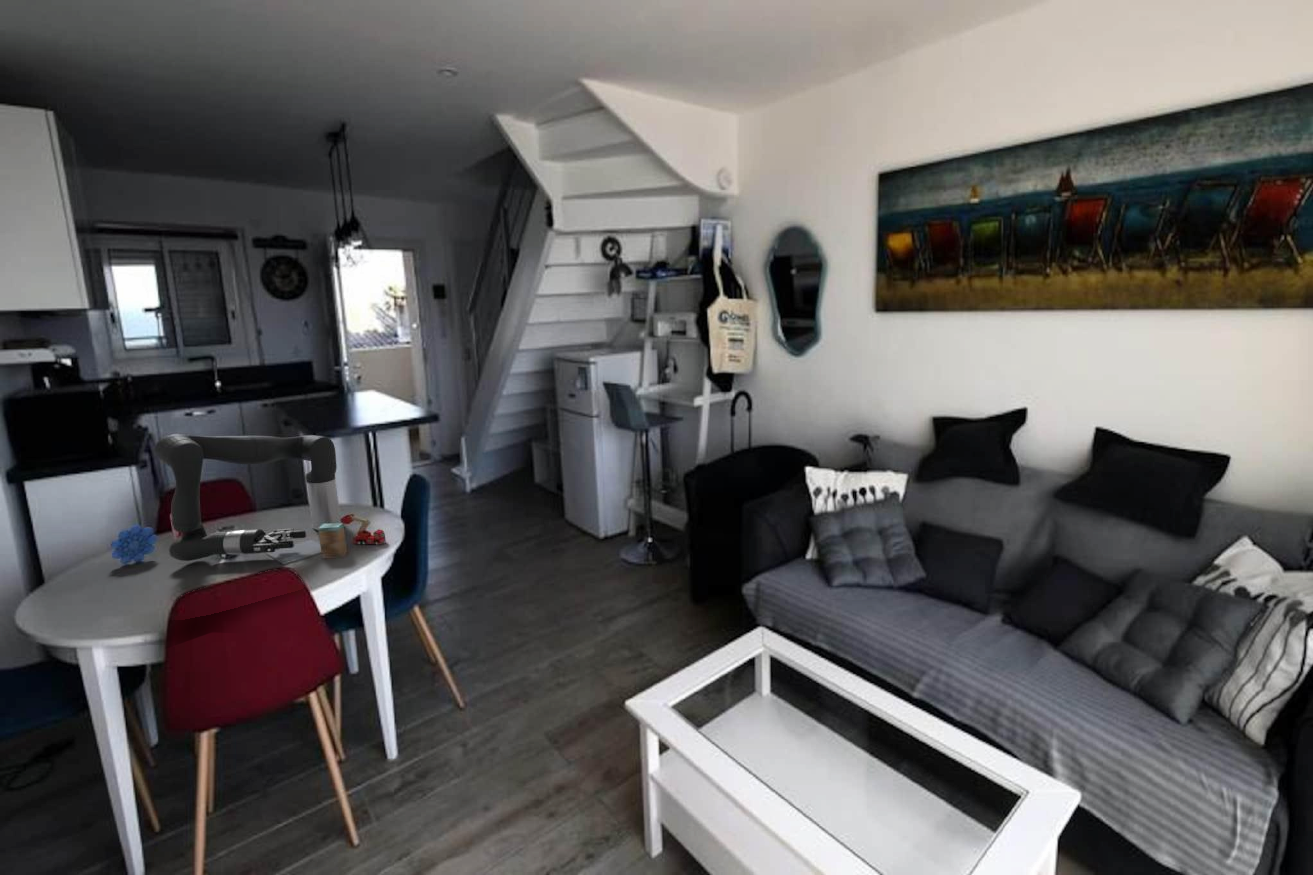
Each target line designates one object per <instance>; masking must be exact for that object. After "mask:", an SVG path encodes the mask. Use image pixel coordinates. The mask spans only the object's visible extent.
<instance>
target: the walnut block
mask: <svg viewBox="0 0 1313 875" xmlns="http://www.w3.org/2000/svg"><path fill="white" fill-rule="evenodd" d="M317 531H318V537H319V544H320V546H321V559H333V558H335V559H336V558H343V557H344V556H345V555H346V554H347V553H348V551H347V544H346V535H345V534H346V533H345V527H344V524H343V523H330V524H323V525H321V526H320V527H319V528H318V530H317ZM346 552H347V553H346ZM344 554H345V555H344Z"/></svg>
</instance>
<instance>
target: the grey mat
mask: <svg viewBox="0 0 1313 875" xmlns="http://www.w3.org/2000/svg"><path fill="white" fill-rule="evenodd" d="M265 554H266V555H267V556H269V557H270V558H272V559H273V560H276V561H277V562H278V563H280V562H281V563H280V564H282V563H283V564H282V565H287V564H291V563H293V562H297V561H300V560H305V559H308V558H310V557H311V558H312V557H314V556H317V554H318V555H320V554H321V555H322V553H321V546H320V542H317V541H315V540H313V539H310V540H309V539H308V540H306V541H303V542H299V543H295V544H294V547H293V548H283V549H279V550H275V552H267V553H265Z"/></svg>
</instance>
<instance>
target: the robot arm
mask: <svg viewBox="0 0 1313 875" xmlns="http://www.w3.org/2000/svg"><path fill="white" fill-rule="evenodd" d="M154 453H155V455H156V456H157V458H158V459H159V460H160V461H161V462H163V463H165V465H166V466H168V467H170V468H171V469H172V472H173V475H174V480H175V490H174V493H173V497H172V499H171V505H170V512H171V513H170V514H172V524H173V527H174V529H175V530H176V531H179V532H182V535H181V536H180V537H179V538H178V539H177V540H176V541H175V540H174V541H173V542H172V543H171V544H170V546H169V554H170V556H172V558H174V559H175V560H178V561H182V562H183V561H185V562H187V561H188V562H189V561H190V562H191V561H195V560H200V559H204V558H209V557H212V556H214V555H215V556H216V555H217V556H219V555H251V554H253V555H254V554H261V553H262V554H263V553H264V554H266V553H268V552H275V550H279V549H283V548H293V547H294V545H295V544H294V540H292V539H305V538H306V537H307V532H306V531H305V530H295V528H293V527H292V528H281V529H279V528H277V529H274V530H273V531H272V532H269V533H265V531H264V530H263V529H260V528H256V529H236V530H231V531H215V532H211V533H210V534H207V531H206V529H205V527H204V524H203V522H202V518H201V502H200V498H201V497H200V491H201V490H200V489H201V480H202V479H201V478H202V470H203V465H204V460H212V461H213V460H214V461H219V462H225V463H229V464H238V465H261V464H262V465H263V464H269V463H273V462H277V461H280V460H302V461H308V462H310V467H311V469H310V471H308V472H306V474H305V481H306V489H307V495H308V504H309V510H310V517H311V524H312V529H313V530H317V531H318V528H319V527H320V526H321V525H323V524H330V523H341V520H340V519H341V518H342V517H341V511H340V510H341V509H340V504H339V501H340V500H339V494H338V493H339V492H338V486H337V480H336V474H337V468H338V466H337V456H336V454H337V453H336V447H335V444H334V442H333V441H332V439H331V438H329V437H327V436H323V435H315V434H310V435H309V434H308V435H301V436H293V437H292V436H291V437H279V436H272V435H271V436H268V435H226V436H225V435H220V436H218V435H217V436H208V435H207V436H205V435H195V434H194V435H193V434H183V433H174V434H168V435H166V436H163V437H162V438H160V439H159V440H158V441H157V442H156V443H155V445H154Z"/></svg>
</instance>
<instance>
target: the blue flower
mask: <svg viewBox="0 0 1313 875" xmlns="http://www.w3.org/2000/svg"><path fill="white" fill-rule="evenodd" d="M153 532H154V529H153V528H152V527H150V526H146V527H144V528H143V526H142V525H140V524H134V525H132V527H130V530H129V529H122V530H120V531H119V533H118V534H117V538H116V539H114V540H113V541H111V543H110V548H111V549H112V550H113V551H112V552H111V558H113V559H114V560H119V559H120V563H121V564H123V565H127V564H129V563H131V562H132V561H133V562H134V563H140V562H142V561H143V560H145V558H146V557H145V555H151V554H153V552H155V549H156V548H155V546H154V545H155V544H156V543H157V541H158V539H159V537H158V535H157V534H153Z"/></svg>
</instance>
